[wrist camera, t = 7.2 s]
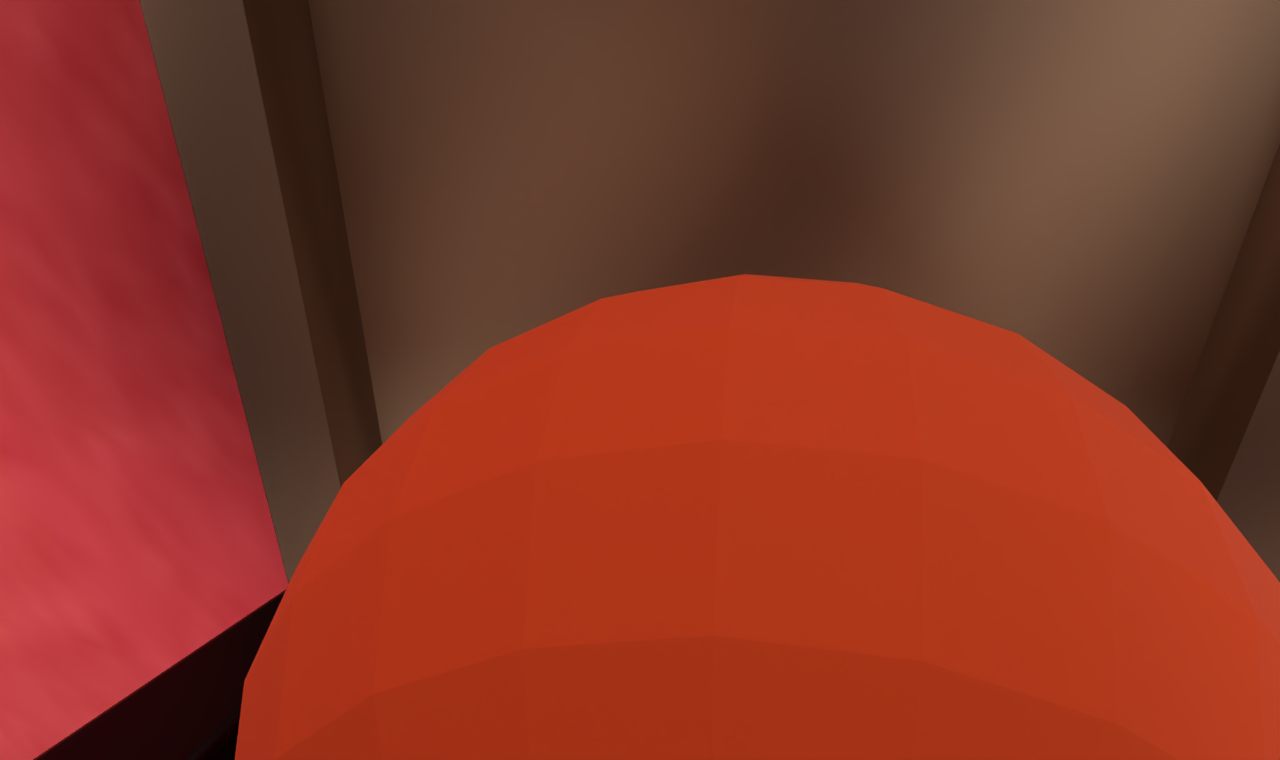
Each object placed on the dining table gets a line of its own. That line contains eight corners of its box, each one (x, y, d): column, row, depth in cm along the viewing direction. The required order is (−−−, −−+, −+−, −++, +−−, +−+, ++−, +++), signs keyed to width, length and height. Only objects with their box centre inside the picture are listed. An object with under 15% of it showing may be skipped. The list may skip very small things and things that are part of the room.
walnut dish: (1520, -248, 9) (1706, -273, 7) (1123, 709, 16) (1167, 817, 14) (192, -246, 10) (72, -264, 9) (369, 626, 18) (322, 715, 16)
